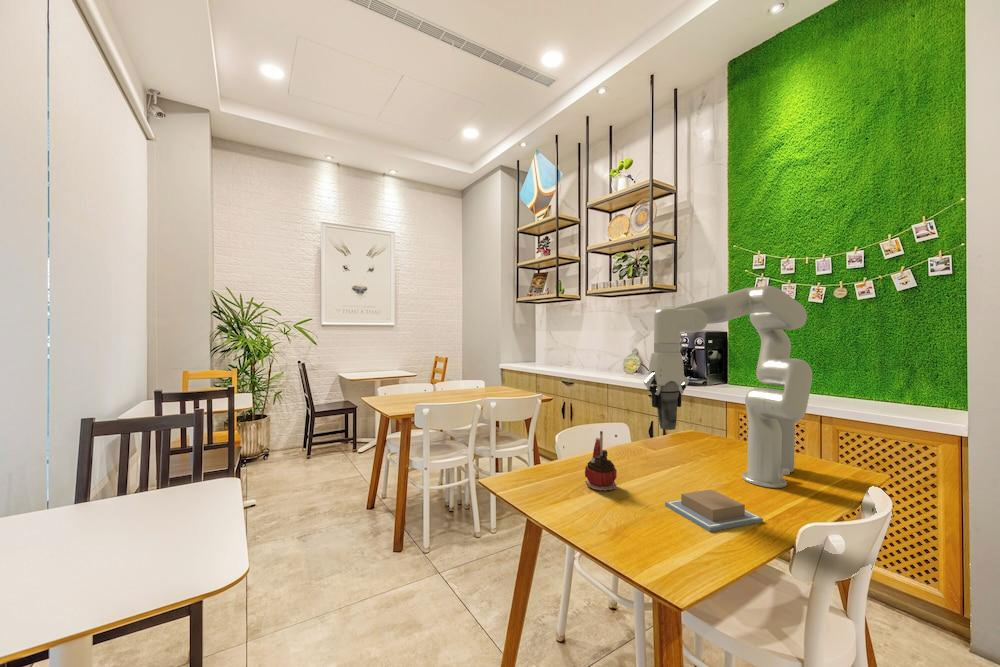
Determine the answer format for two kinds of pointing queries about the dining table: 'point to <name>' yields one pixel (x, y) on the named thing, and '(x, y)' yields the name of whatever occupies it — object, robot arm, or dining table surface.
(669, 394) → the beverage cup
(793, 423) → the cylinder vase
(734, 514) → the brown block on tray
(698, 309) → the robot arm
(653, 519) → the dining table surface
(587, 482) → the cake
